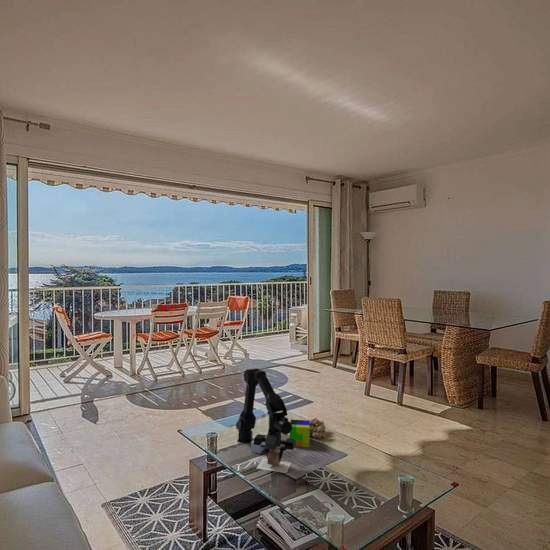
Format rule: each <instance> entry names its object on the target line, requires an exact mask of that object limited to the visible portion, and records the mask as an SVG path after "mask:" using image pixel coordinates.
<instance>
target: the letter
mask: <svg viewBox="0 0 550 550" xmlns="http://www.w3.org/2000/svg"><path fill="white" fill-rule="evenodd" d="M291 465H292V462H289V461H282V460H281V462H280V463H279V465H278V466H275V465H269V464H268V458H261V460H260V462H259V463H258V465H257V466H256V469H257V470H264V471H271V472H276V473H277V472H278V473H282V474H283V473H284V474H287V473H288V471H289V468H291Z"/></svg>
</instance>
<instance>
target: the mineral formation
mask: <svg viewBox="0 0 550 550" xmlns="http://www.w3.org/2000/svg"><path fill="white" fill-rule="evenodd" d="M309 421H310V431H309V436H311V437H314V438H317V439H321V438H325V437H326V428H327V426H326V425H325V422H324V420H320V419H317V417H314V418H313V419H310V420H309Z"/></svg>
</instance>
